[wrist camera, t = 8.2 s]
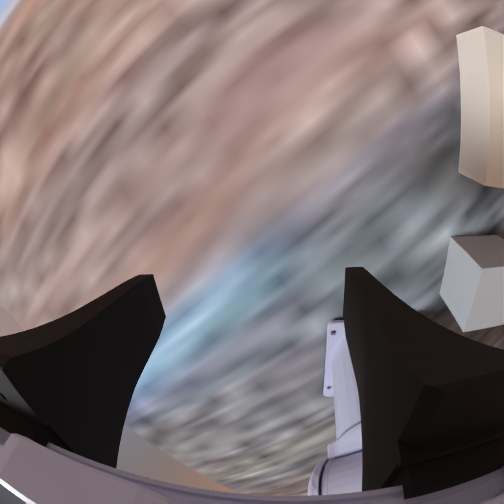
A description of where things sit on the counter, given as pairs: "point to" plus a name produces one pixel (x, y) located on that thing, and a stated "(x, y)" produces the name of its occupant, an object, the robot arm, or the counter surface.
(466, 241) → the grey cube
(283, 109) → the counter surface
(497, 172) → the base block
